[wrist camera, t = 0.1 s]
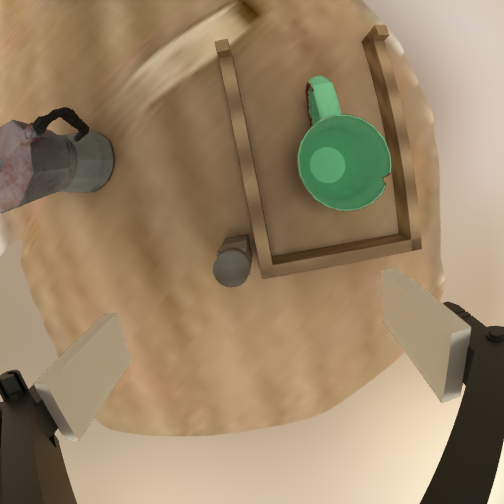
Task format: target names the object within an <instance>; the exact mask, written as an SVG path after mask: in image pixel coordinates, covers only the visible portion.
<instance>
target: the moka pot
mask: <svg viewBox="0 0 504 504" xmlns="http://www.w3.org/2000/svg"><path fill="white" fill-rule="evenodd" d="M58 117H62V119H63V120H65V121H66V122H68V123H69V124H70V125H71V126H73V127H74V128H77V129H78V131H79V132H78V133H76V134H66V135H56V134H55V133H54V132H52V131H51V130H47V129H46V128H47V126H48V125H49V124H50V123H51V122H52V121H53V120H56V119H57V118H58ZM113 162H114V157H113V152H112V147H111V144H110V141H109V140H108V139H106V138H105V137H104V136H103V135H101V134H99V133H98V132H89V127H88V126H87V125H86V124H85V122H83V121H82V119H80V118H79V117H78V115H77V114H76V113H75V112H74V110H73V109H72V110H71V109H69V108H65V107H63V108H59V109H55V110H53V111H51V112H50V113H49V114H48V115H45V116H42V117H38V118H37V119H36V120H35V121H34V123H30V124H27V123H23V122H19V121H15V120H11V121H10V122H8V123H6V124H4V125H3V126H1V127H0V213H4V212H6V211H9V210H12V209H14V208H17V207H20V206H23V205H25V204H27V203H30V202H32V201H35V200H37V199H40V198H42V197H45V196H48V195H50V194H53V193H56V192H96V191H97V190H99V189H100V188H101V187H102V186H103V185H104V184H105V183H106V182H107V181H108V179H109V177H110V175H111V172H112V168H113Z"/></svg>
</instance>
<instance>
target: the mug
mask: <svg viewBox="0 0 504 504" xmlns="http://www.w3.org/2000/svg"><path fill="white" fill-rule="evenodd" d="M306 98H307V106H308V114H309V120H310V124H311V128H310V129H309V130H308V131H307V132H306V134H305V135H304V137H303V139H302V141H301V142H300V145H299V150H298V155H297V165H298V174H299V176H300V178H301V180H302V183H303V185H304V187H305V189H306V190H307V191H308V192H309V193H310V194H311V195H312V197H313V198H314V199H315V200H317V201H318V202H320V203H322V204H323V205H325V206H327V207H328V208H332V209H336V210H340V211H352V210H359V209H361V208H364V207H366V206H368V205H370V204H372V203H373V202H374V201H375V200H376V199H377V198H378V197H380V196H381V195H382V193H383V191H384V189H385V187H386V183H385V182H384V180H383V178H384V177H386V176H388V175H389V174H390V173H391V168H392V166H391V156H390V151H389V149H388V146H387V144H386V141H385V139H384V138H383V136H382V135H381V134H380V133H379V131H378V130H377V129H376V128H375V127H374V126H373V125H371V124H370V123H368V122H367V121H365V120H364V119H362V118H359V117H355V116H352V115H348V114H344V115H342V114H341V110H340V106H339V102H338V98H337V95H336V92H335V89H334V86H333V83H332V82H331V81H330V80H329V79H328V78H325V77H323V76H316V77H313V78H311V79H310V80H309V81H308V82H307V87H306Z"/></svg>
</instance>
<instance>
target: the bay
mask: <svg viewBox="0 0 504 504" xmlns="http://www.w3.org/2000/svg"><path fill="white" fill-rule="evenodd" d="M388 36H389V33H388V30H387V27H386V25H375V26H374V27H373V28H372V29H371V31H370V32H369V33H368V35H367V36H366V37H365V39H364V40H363V41H362V43H363V46H364V50H365V53H366V57H367V60H368V64H369V67H370V71H371V75H372V78H373V82H374V86H375V90H376V94H377V99H378V103H379V107H380V112H381V116H382V121H383V126H384V131H385V136H386V141H387V146H388V149H389V151H390V156H391V166H392V168H391V171H392V177H393V184H394V191H395V199H396V207H397V216H398V226H399V234H396V235H391V236H385V237H380V238H374V239H369V240H363V241H358V242H353V243H347V244H342V245H336V246H330V247H325V248H319V249H314V250H308V251H303V252H297V253H292V254H286V255H280V256H275V257H272V256H271V250H270V245H269V240H268V234H267V229H266V223H265V218H264V213H263V207H262V202H261V197H260V192H259V186H258V181H257V176H256V171H255V166H254V161H253V155H252V150H251V145H250V140H249V135H248V130H247V125H246V120H245V115H244V110H243V105H242V101H241V96H240V91H239V86H238V81H237V76H236V72H235V67H234V62H233V57H232V53H231V50H230V46H229V43H228V39H225V40H220V41H215V46H216V51H217V54H218V57H219V60H220V65H221V70H222V75H223V80H224V86H225V91H226V96H227V101H228V106H229V111H230V116H231V121H232V126H233V131H234V136H235V141H236V146H237V151H238V156H239V161H240V166H241V172H242V177H243V182H244V187H245V192H246V197H247V202H248V207H249V213H250V218H251V223H252V228H253V233H254V238H255V244H256V249H257V254H258V259H259V264H260V270H261V275H262V279H266V278H272V277H277V276H283V275H289V274H294V273H300V272H305V271H311V270H316V269H322V268H327V267H333V266H338V265H343V264H348V263H354V262H359V261H364V260H369V259H374V258H379V257H384V256H389V255H394V254H399V253H404V252H409V251H414V250H419V249H422V246H421V231H420V219H419V208H418V199H417V191H416V183H415V175H414V168H413V162H412V156H411V150H410V144H409V138H408V133H407V128H406V123H405V118H404V114H403V109H402V105H401V100H400V96H399V92H398V88H397V84H396V80H395V76H394V73H393V69H392V65H391V62H390V59H389V55H388V52H387V49H386V45H385V42H384V40H385V39H386V38H387V37H388ZM217 257H218V258H217V259H216V261H215V263H214V267H213V272H214V276H215V278H216V280H217V281H218V282H219V283H220V284H222V285H224V286H226V287H237V286H240V285H241V284H243V283H244V282H245V281H246V279H247V277H248V275H250V269H251V262H252V253H251V248H250V243H249V238H248V235H243V236H237V237H232V238H227V239H225V240H224V242H223V243H222V245H221V247H220V248H219V250H218V252H217Z"/></svg>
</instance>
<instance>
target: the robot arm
mask: <svg viewBox="0 0 504 504" xmlns="http://www.w3.org/2000/svg"><path fill="white" fill-rule="evenodd" d="M381 279H382V296H383V323H384V324H385V325H386V327H387V328H388V329H389V331H390V332H391V333H392V335H393V336H394V337H395V339H396V340H397V341H398V343H399V344H400V345H401V347H402V348H403V349H404V351H405V352H406V354H407V355H408V356H409V357H410V359H411V360H412V362H413V363H414V365H415V366H416V367H417V369H418V370H419V372H420V373H421V374H422V376H423V377H424V379H425V380H426V381H427V383H428V384H429V386H430V387H431V389H432V390H433V392H434V393H435V394H436V396H437V397H438V399H439V400H440V402H441V403H444V402H447V401H450V400H452V399H455V398H457V397H460V395H461V390H462V385H463V383H464V384H465V385H466V388H465V391H464V395H463V398H462V402H461V405H460V408H459V411H458V414H457V417H456V420H455V423H454V426H453V429H452V431H451V435H450V437H449V440H448V442H447V445H446V447H445V450H444V452H443V455H442V457H441V460H440V462H439V464H438V467H437V469H436V471H435V473H434V476H433V478H432V480H431V482H430V484H429V486H428V488H427V490H426V492H425V494H424V496H423V499H422V500H421V502H420V504H487V502H488V499H489V496H490V493H491V489H492V486H493V482H494V479H495V475H496V471H497V467H498V463H499V459H500V455H501V450H502V445H503V441H504V327H501V326H489V327H486V326H485V325H483V324H482V323H480V322H479V321H478V320H477V319H476V318H474V317H473V316H471V315H470V314H469V313H468V312H465V310H464V309H463V308H461V307H460V306H459V305H456V304H453V303H451V302H445V303H441V302H440V301H439V300H437V299H436V298H435V297H434V296H432V295H431V294H430V293H429V292H427V291H426V290H425V289H423V288H422V287H421V286H420V285H418V284H417V283H416V282H414V281H413V280H412V279H410V278H409V277H408V276H406V275H405V274H404V273H402V272H401V271H400V270H398V269H397V268H396V267H394V268H390V269H385V270H381ZM132 360H133V358H132V356H131V353H130V350H129V348H128V345H127V342H126V339H125V337H124V334H123V331H122V328H121V325H120V322H119V319H118V316H117V313H113V314H104V315H103V316H102V317H101V318H100V319H99V320H98V321H97V322H96V323H95V324H94V325H93V326H92V327H90V328H89V329H88V330H87V331H86V332H85V333H84V334H83V335H82V336H81V337H80V338H79V339H78V340H77V341H76V342H75V343H74V344H73V345H72V346H71V347H70V348H68V349H67V350H66V351H65V352H64V353H63V354H62V355H61V356H60V357H59V358H58V359H57V360H56V361H55V362H54V363H53V364H52V365H51V366H50V367H49V368H48V369H47V370H46V371H45V372H44V373H43V374H42V375H41V376H40V377H39V378H38V379H37V380H36V381H35V382H34V383H33V384H34V385H33V386H32V387H31V388H30V389H28V387H27V385H26V384H25V381H24V379H23V378H22V376H21V373H20V371H18V370H11V371H7V372H5V373H3V374H1V375H0V395H1V396H2V398H3V402H0V504H77V502H76V499H75V496H74V493H73V490H72V487H71V484H70V481H69V478H68V474H67V471H66V468H65V464H64V460H63V457H62V453H61V449H60V445H59V441H58V439H57V437H56V436H55V434H54V433H55V431H56V430H57V429H59V430H60V432H61V433H62V435H63V437H64V438H65V439H68V440H74V441H79V440H80V439H81V437H82V436H83V434H84V433H85V431H86V429H87V428H88V426H89V425H90V423H91V422H92V420H93V419H94V417H95V416H96V414H97V413H98V411H99V409H100V408H101V406H102V405H103V403H104V402H105V400H106V399H107V397H108V396H109V394H110V393H111V391H112V390H113V388H114V387H115V385H116V384H117V382H118V381H119V379H120V378H121V376H122V375H123V373H124V372H125V370H126V369H127V367H128V366H129V364H130V363H131V361H132Z"/></svg>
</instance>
